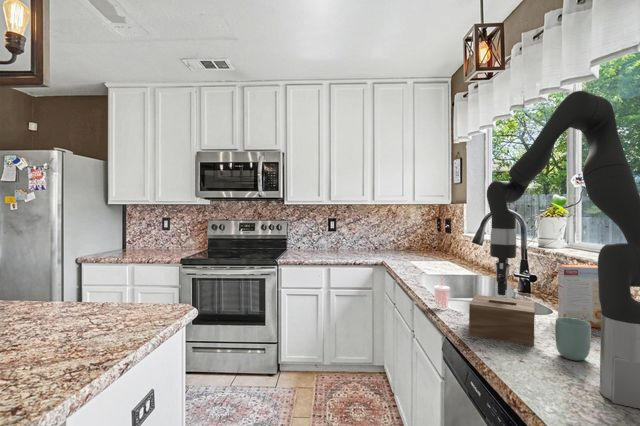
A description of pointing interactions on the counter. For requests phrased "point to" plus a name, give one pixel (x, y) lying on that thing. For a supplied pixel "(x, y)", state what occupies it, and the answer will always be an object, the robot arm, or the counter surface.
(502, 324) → the coin box
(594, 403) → the counter surface
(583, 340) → the cup
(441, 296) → the beverage cup
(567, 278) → the cracker box
